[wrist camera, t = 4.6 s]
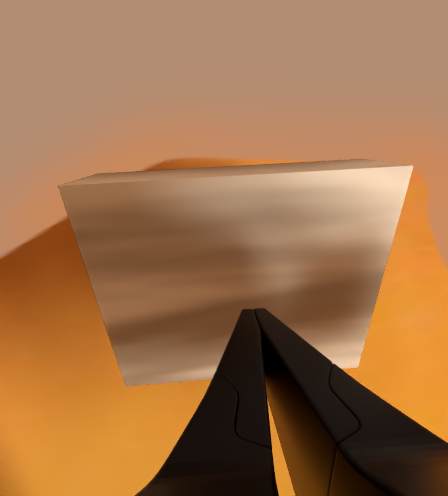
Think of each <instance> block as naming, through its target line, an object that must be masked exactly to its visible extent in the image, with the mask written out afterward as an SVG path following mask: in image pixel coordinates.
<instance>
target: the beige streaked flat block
mask: <svg viewBox="0 0 448 496" xmlns="http://www.w3.org/2000/svg"><path fill="white" fill-rule="evenodd" d="M412 169H413V165H405V164H398V163H390V162H382V161H375V160H367V159H351V160H334V161H316V162H298V163H280V164H262V165H244V166H226V167H208V168H190V169H173V170H155V171H137V172H121V173H120V172H119V173H102V174H95V175H92V176H88V177H85V178H82V179H79V180H75V181H72V182H69V183H66V184H62V185H59V186H58V188H59V190H60V194H61V196H62V199H63V202H64V205H65V208H66V211H67V214H68V217H69V220H70V223H71V226H72V229H73V232H74V235H75V238H76V241H77V244H78V247H79V250H80V253H81V256H82V259H83V262H84V264H85V267H86V270H87V273H88V276H89V279H90V282H91V285H92V288H93V291H94V294H95V297H96V300H97V303H98V306H99V309H100V312H101V315H102V318H103V321H104V324H105V327H106V330H107V332H108V335H109V338H110V341H111V344H112V347H113V350H114V353H115V356H116V359H117V362H118V365H119V368H120V371H121V374H122V377H123V380H124V383H125V386H136V385H149V384H161V383H173V382H185V381H197V380H209V379H212V378H213V376H214V374H215V372H216V369H217V367H218V364H219V362H220V360H221V357H222V355H223V353H224V350H225V348H226V346H227V343H228V341H229V339H230V336H231V334H232V332H233V329H234V327H235V324H236V322H237V320H238V317H239V315H240V313H241V310H242V309H253V310H254V309H255V308H265V309H267V310H268V311H269V312H270V313H272V314H273V315H274V316H275V317H277V318H278V319H279V320H280V321H282V322H283V323H284V324H285V325H287V326H288V327H289V328H290V329H292V330H293V331H294V332H295V333H297V334H298V335H299V336H300V337H302V338H303V339H304V340H305V341H307V342H308V343H309V344H310V345H312V346H313V347H314V348H316V349H317V350H318V351H319V352H321V353H322V354H323V355H324V356H326V357H327V358H328V359H329V360H331V361H332V362H333V364H336V365H337V366H338V367H339V368H341V369H343V368H355V367H358V365H359V361H360V358H361V354H362V350H363V347H364V343H365V340H366V336H367V332H368V329H369V325H370V321H371V318H372V314H373V311H374V307H375V303H376V300H377V296H378V293H379V289H380V285H381V282H382V278H383V274H384V271H385V267H386V264H387V260H388V256H389V253H390V249H391V245H392V242H393V238H394V235H395V231H396V227H397V224H398V220H399V217H400V213H401V209H402V206H403V202H404V198H405V195H406V191H407V188H408V184H409V180H410V177H411V173H412Z"/></svg>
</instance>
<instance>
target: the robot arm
mask: <svg viewBox="0 0 448 496" xmlns="http://www.w3.org/2000/svg"><path fill="white" fill-rule="evenodd" d="M267 398H268V402H269V405H270V409H271V412H272V416H273V419H274V423H275V426H276V430H277V433H278V437H279V440H280V443H281V447H282V450H283V454H284V457H285V461H286V464H287V468H288V471H289V475H290V478H291V482H292V485H293V489H294V492H295V495H296V496H448V443H447V442H446V441H444V440H443V439H441V438H439V437H438V436H436V435H435V434H433V433H432V432H430V431H429V430H427V429H426V428H424V427H423V426H421V425H420V424H418V423H417V422H416V421H414V420H413V419H411V418H410V417H408V416H407V415H405V414H404V413H402V412H401V411H399V410H398V409H396V408H395V407H393V406H392V405H390V404H389V403H387V402H386V401H384V400H383V399H382V398H380V397H379V396H377V395H376V394H374V393H373V392H372V391H370V390H369V389H367V388H366V387H364V386H363V385H362V384H360V383H359V382H358V381H356V380H355V379H354V378H352V377H351V376H350V375H348V374H347V373H346V372H344V371H343V370H342V369H341V368H339V367H338V366H337V365H336V364H333V362H332V361H331V360H329V359H328V358H327V357H326V356H324V355H323V354H322V353H321V352H319V351H318V350H317V349H316V348H314V347H313V346H312V345H310V344H309V343H308V342H307V341H305V340H304V339H303V338H302V337H300V336H299V335H298V334H297V333H295V332H294V331H293V330H292V329H290V328H289V327H288V326H287V325H285V324H284V323H283V322H282V321H280V320H279V319H278V318H277V317H275V316H274V315H273V314H272V313H270V312H269V311H268V310H267V309H265V308H255V309H254V310H253V309H242V310H241V313H240V315H239V317H238V320H237V322H236V324H235V327H234V329H233V332H232V334H231V336H230V339H229V341H228V343H227V346H226V348H225V350H224V353H223V355H222V357H221V360H220V362H219V364H218V367H217V369H216V372H215V374H214V376H213V378H212V381H211V383H210V385H209V387H208V389H207V391H206V393H205V396H204V397H203V399H202V401H201V403H200V405H199V406H198V408H197V410H196V412H195V413H194V415H193V417H192V418H191V420H190V422H189V423H188V425H187V427H186V428H185V430H184V432H183V433H182V435H181V437H180V438H179V440H178V442H177V443H176V445H175V447H174V448H173V450H172V452H171V453H170V455H169V457H168V458H167V460H166V461H165V463H164V464H163V466H162V467H161V469H160V470H159V472H158V473H157V474H156V475H155V477H154V478H153V479H152V480H151V481H150V482H149V483H148V484H147V485H146V486H145V487H144V488H143V489H142V490H141V491H140V492H138V493H137V494H136V495H135V496H279V494H278V489H277V485H276V479H275V471H274V463H273V454H272V444H271V433H270V423H269V413H268V403H267Z"/></svg>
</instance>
